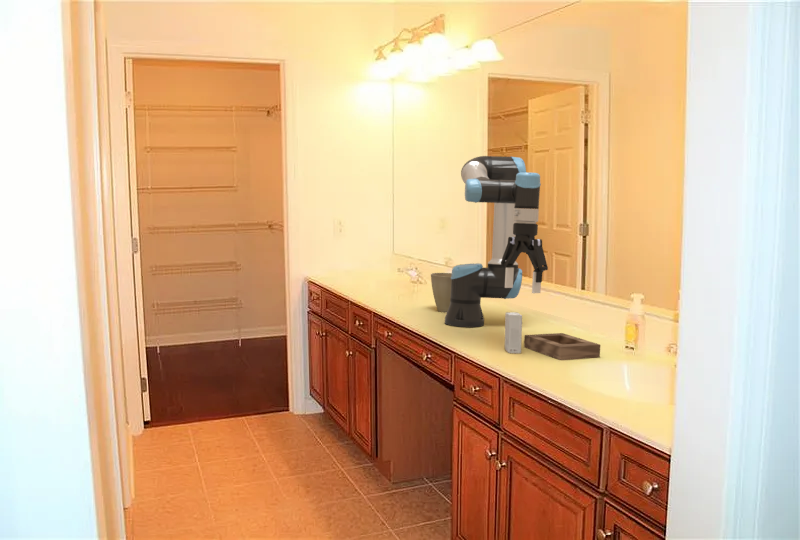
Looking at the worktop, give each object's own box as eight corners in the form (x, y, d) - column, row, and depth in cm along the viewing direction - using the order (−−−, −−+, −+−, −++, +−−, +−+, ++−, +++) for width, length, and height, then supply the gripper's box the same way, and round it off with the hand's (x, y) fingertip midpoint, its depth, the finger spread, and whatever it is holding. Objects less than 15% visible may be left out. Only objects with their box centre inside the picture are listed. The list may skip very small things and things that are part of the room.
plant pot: (425, 312, 281) (426, 275, 279) (434, 307, 295) (435, 272, 293) (459, 315, 276) (461, 277, 275) (466, 310, 290) (468, 274, 289)
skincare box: (521, 353, 206) (523, 315, 205) (507, 353, 205) (509, 314, 204) (517, 349, 212) (519, 312, 211) (503, 349, 212) (505, 311, 210)
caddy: (523, 347, 216) (524, 335, 215) (561, 344, 222) (562, 333, 221) (560, 360, 198) (560, 347, 198) (599, 357, 204) (600, 344, 204)
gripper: (492, 221, 215) (488, 285, 217) (542, 223, 193) (538, 295, 195) (510, 221, 218) (507, 285, 220) (562, 224, 196) (558, 295, 198)
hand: (522, 290), depth 207 cm, fingers open, 13 cm apart
